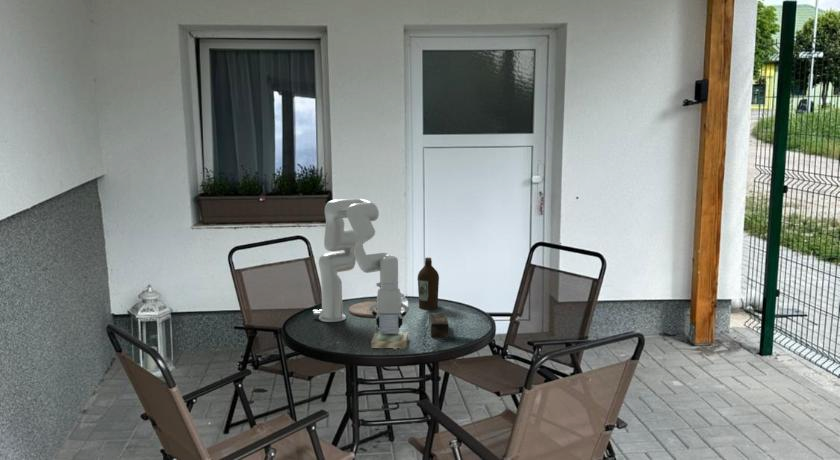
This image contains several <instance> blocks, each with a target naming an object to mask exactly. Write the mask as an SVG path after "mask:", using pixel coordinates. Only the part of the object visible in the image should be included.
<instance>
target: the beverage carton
mask: <svg viewBox="0 0 840 460" xmlns="http://www.w3.org/2000/svg"><path fill="white" fill-rule="evenodd" d="M447 318H448V317H447V315H446V313H436V312H432V313H429V315H428V327H429V333H430V338H449V334H450V333H449V330H450V327H449V325H450V324H449V321H448V319H447Z"/></svg>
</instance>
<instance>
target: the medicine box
mask: <svg viewBox="0 0 840 460" xmlns="http://www.w3.org/2000/svg"><path fill="white" fill-rule="evenodd" d="M398 319H399V316H398V314H379V330H378V333H380V334H398V333H399V331H400V328H399V327H398ZM379 331H380V332H379Z"/></svg>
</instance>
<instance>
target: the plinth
mask: <svg viewBox="0 0 840 460" xmlns="http://www.w3.org/2000/svg"><path fill="white" fill-rule="evenodd" d="M379 332H380V331H379V330H378V332H374V334H373V337H372V340H371V341H370V349H372V348H393V350H398V349H397V348H400V349H399V350H406V348H407V345H408V344H407V343H408V340H409V339H408V338H409V333H408V332H405V333H404V332H403V331H402V330H399V333H398V334H380V333H379ZM405 347H406V348H405Z"/></svg>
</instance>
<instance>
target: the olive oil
mask: <svg viewBox="0 0 840 460" xmlns="http://www.w3.org/2000/svg"><path fill="white" fill-rule="evenodd" d="M432 263H433V261H432V257H425V258H424V266H423V267H422V268H421V269H420V270H419V271H418V274H417V290H418V292H417V293H418V307H419V309H422V310H435V309H437V308H438V305H439V283H440V275H439V272H438V271H437V269H436V268H435V267H434V266H433V264H432Z"/></svg>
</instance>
